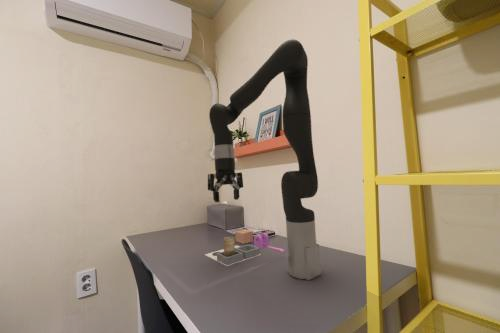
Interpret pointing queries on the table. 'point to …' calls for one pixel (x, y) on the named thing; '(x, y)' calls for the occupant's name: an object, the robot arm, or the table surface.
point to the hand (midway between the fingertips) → (226, 200)
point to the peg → (229, 246)
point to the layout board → (240, 254)
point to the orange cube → (244, 236)
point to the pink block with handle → (263, 241)
